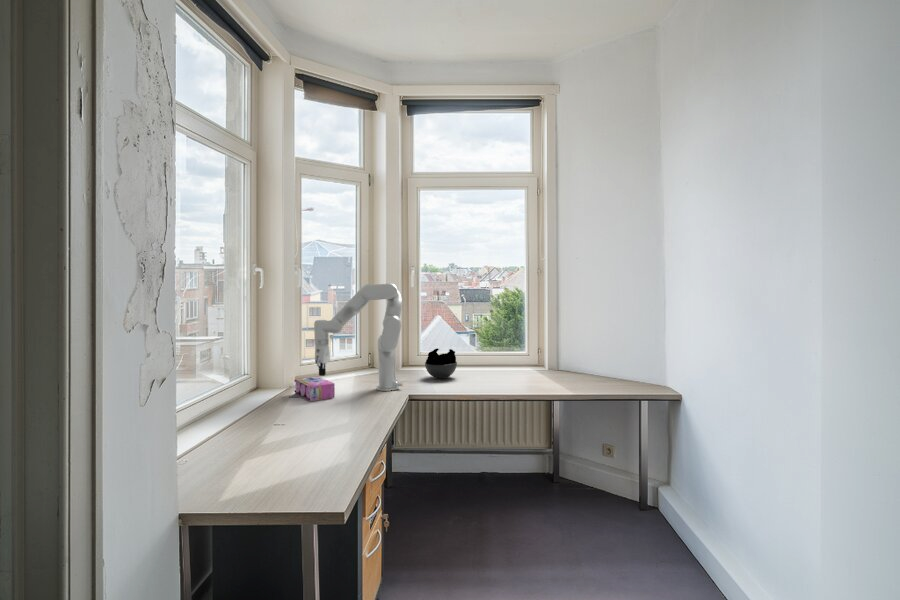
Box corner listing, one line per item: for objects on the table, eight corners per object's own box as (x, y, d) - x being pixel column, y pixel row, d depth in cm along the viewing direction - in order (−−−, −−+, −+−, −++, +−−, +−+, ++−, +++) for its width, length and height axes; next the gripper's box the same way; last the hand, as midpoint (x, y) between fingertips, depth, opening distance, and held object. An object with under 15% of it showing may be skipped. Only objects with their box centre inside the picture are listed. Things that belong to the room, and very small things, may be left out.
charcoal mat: (334, 388, 290) (334, 386, 290) (315, 398, 265) (315, 397, 265) (309, 387, 292) (309, 386, 292) (288, 397, 268) (288, 396, 268)
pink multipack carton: (317, 389, 284) (293, 392, 276) (317, 375, 284) (293, 378, 275) (334, 398, 265) (310, 401, 257) (334, 383, 264) (309, 386, 256)
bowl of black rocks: (418, 378, 314) (418, 348, 313) (442, 374, 327) (442, 345, 326) (439, 383, 299) (439, 351, 298) (463, 378, 313) (463, 348, 312)
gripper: (322, 344, 269) (323, 378, 269) (333, 340, 283) (334, 373, 284) (309, 344, 270) (309, 377, 271) (320, 340, 284) (321, 372, 285)
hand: (322, 375), depth 277 cm, fingers closed
